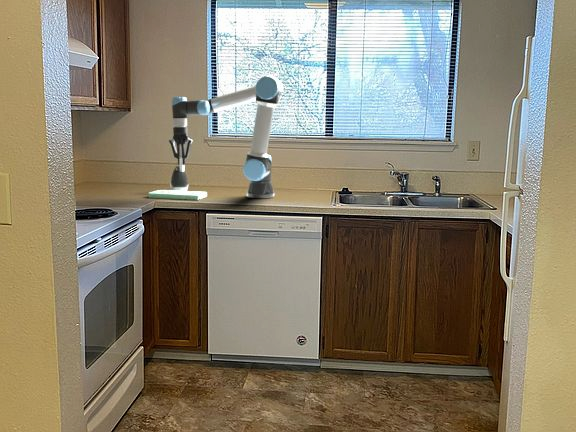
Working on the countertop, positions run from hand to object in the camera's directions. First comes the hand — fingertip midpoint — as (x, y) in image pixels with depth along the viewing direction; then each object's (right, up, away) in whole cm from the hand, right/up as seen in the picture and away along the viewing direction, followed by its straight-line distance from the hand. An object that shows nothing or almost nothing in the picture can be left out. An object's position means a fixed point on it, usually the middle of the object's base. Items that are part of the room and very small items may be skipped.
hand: (182, 171), depth 317 cm
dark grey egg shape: (-5, -11, +21) cm, 24 cm away
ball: (-10, -12, +4) cm, 16 cm away
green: (-3, -14, +3) cm, 14 cm away
